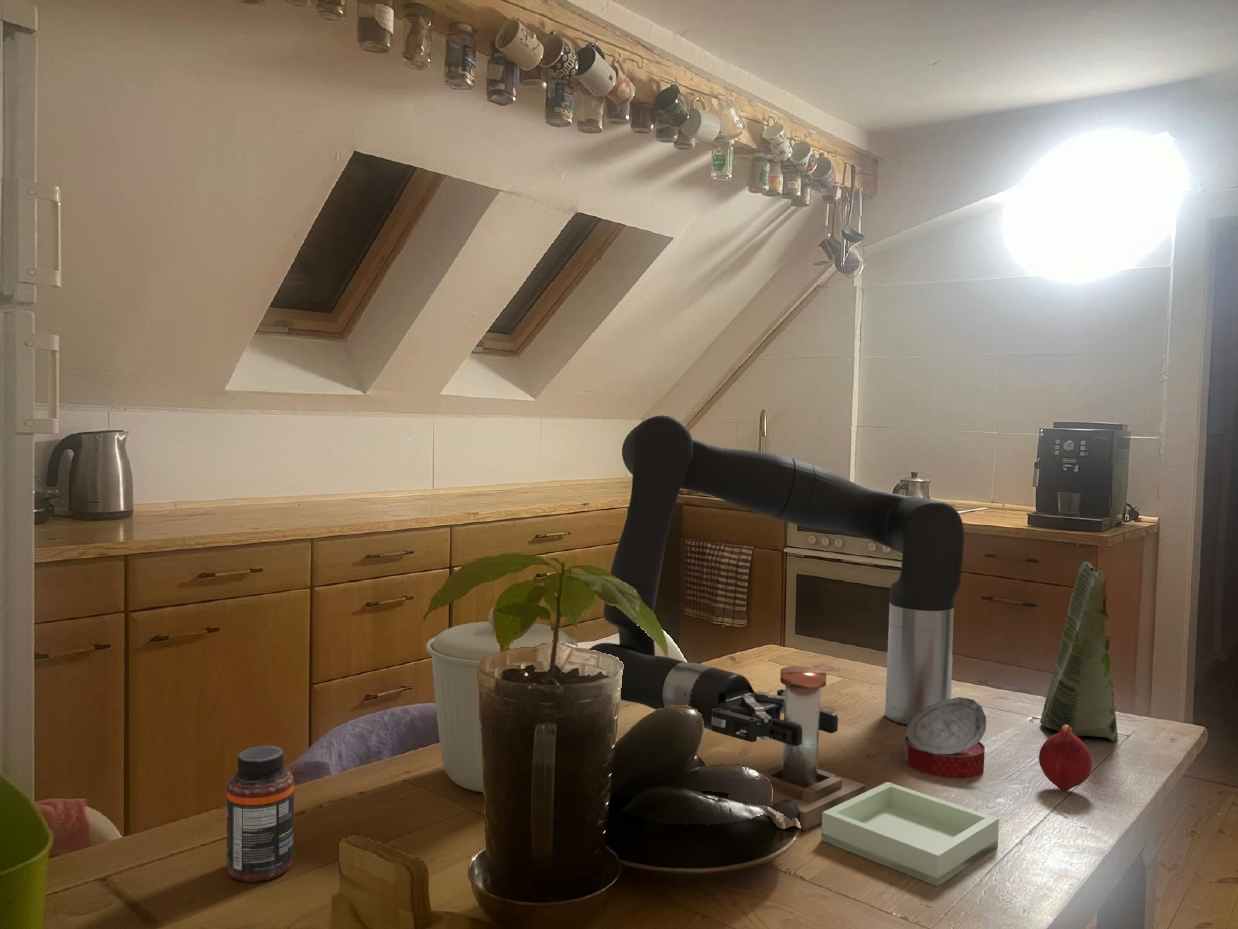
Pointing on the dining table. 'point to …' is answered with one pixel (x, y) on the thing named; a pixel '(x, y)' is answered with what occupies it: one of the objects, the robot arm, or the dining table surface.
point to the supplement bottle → (260, 816)
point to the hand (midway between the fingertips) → (818, 730)
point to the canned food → (947, 739)
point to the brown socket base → (810, 796)
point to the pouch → (1083, 665)
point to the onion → (1065, 759)
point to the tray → (911, 832)
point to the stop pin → (802, 723)
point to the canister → (468, 691)
